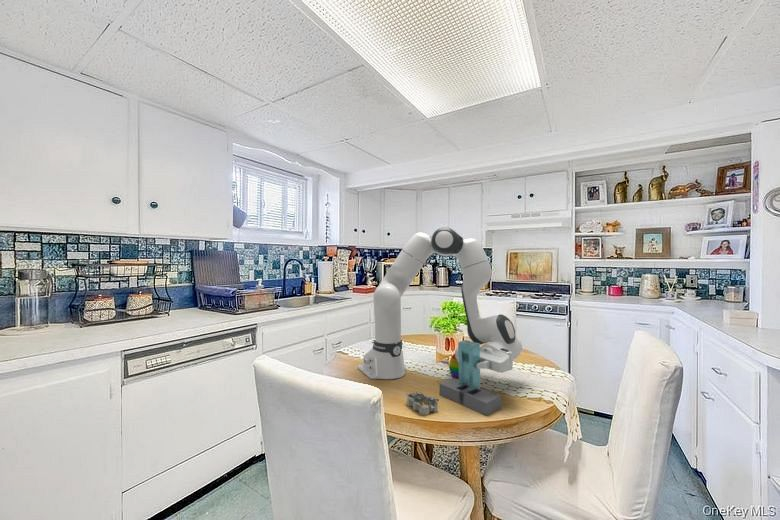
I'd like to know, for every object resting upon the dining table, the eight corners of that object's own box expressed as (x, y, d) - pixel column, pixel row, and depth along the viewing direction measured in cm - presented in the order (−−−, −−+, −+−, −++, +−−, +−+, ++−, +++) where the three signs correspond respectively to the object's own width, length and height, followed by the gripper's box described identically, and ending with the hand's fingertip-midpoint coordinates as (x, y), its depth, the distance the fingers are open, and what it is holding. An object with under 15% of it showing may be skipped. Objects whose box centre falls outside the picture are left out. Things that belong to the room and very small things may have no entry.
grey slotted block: (439, 394, 119) (439, 383, 119) (454, 388, 124) (454, 378, 124) (486, 415, 103) (486, 403, 103) (501, 407, 108) (500, 395, 108)
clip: (458, 384, 114) (458, 342, 114) (466, 381, 117) (465, 340, 117) (473, 390, 110) (472, 345, 109) (480, 387, 112) (479, 343, 112)
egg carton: (440, 412, 106) (440, 399, 106) (421, 417, 103) (421, 404, 103) (422, 398, 116) (422, 387, 116) (404, 403, 112) (404, 391, 112)
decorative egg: (469, 380, 131) (469, 355, 131) (448, 378, 133) (448, 354, 133) (469, 373, 139) (469, 349, 139) (449, 371, 141) (449, 348, 141)
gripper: (468, 340, 129) (444, 347, 121) (516, 352, 113) (492, 361, 105) (468, 356, 129) (444, 364, 121) (516, 371, 113) (493, 381, 105)
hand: (467, 363), depth 113 cm, fingers closed on clip, 6 cm apart
